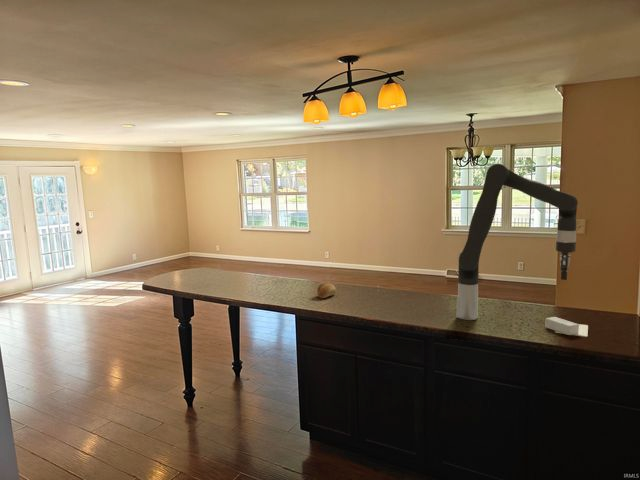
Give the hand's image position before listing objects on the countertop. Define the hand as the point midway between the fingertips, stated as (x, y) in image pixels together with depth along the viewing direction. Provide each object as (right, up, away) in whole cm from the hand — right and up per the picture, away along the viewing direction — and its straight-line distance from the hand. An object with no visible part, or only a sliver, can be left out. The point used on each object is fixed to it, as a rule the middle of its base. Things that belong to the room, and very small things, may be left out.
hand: (563, 279), depth 190 cm
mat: (+4, -22, +1) cm, 22 cm away
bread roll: (-104, -17, +67) cm, 125 cm away
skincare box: (-4, -19, +4) cm, 20 cm away
